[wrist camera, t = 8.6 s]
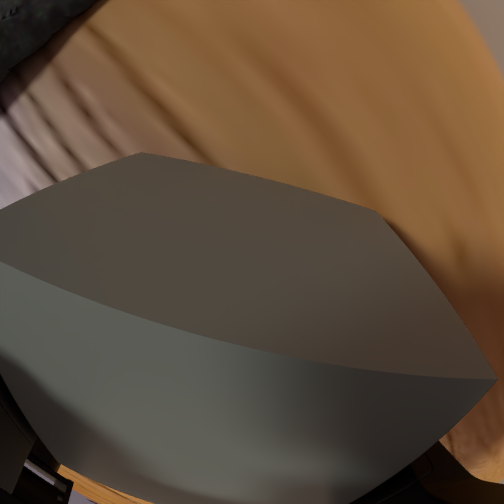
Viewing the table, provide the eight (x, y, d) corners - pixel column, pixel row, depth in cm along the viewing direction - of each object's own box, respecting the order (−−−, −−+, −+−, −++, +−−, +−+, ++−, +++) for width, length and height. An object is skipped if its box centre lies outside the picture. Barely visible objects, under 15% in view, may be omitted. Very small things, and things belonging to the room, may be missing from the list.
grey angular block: (301, 375, 12) (301, 527, 6) (131, 331, 12) (58, 462, 6) (376, 211, 9) (498, 379, 3) (141, 152, 9) (-47, 236, 2)
